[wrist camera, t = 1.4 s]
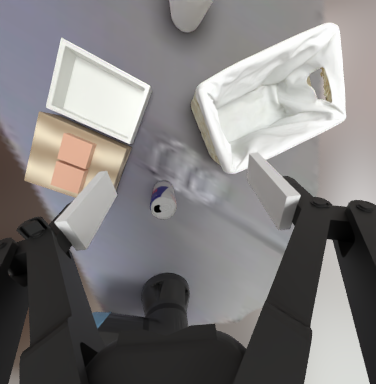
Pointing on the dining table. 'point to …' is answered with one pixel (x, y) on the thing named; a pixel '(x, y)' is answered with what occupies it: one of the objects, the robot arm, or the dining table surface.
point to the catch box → (97, 93)
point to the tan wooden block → (50, 144)
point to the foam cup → (188, 13)
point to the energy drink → (163, 200)
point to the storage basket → (272, 99)
